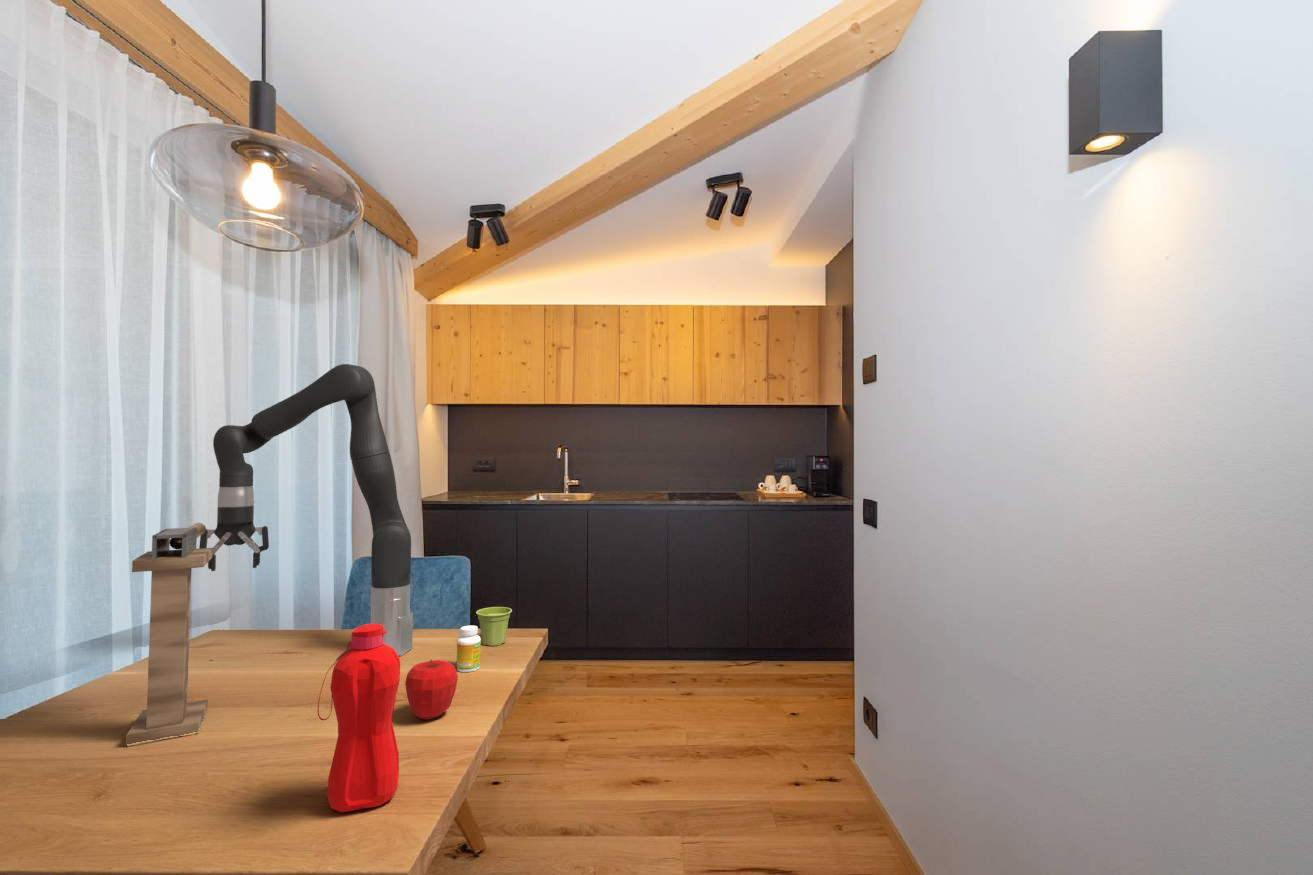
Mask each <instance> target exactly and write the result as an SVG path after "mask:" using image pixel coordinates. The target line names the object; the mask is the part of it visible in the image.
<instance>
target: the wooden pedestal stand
mask: <svg viewBox="0 0 1313 875" xmlns="http://www.w3.org/2000/svg"><path fill="white" fill-rule="evenodd" d="M212 548H213V547H207V548H200V549H199V548H196V549H195V550H194V551H193V552H192V553H190V554H189V555H188V556H187V557H184V558H182V549H169V551H167V552H166V553H164V554H163V555H162V556H160V557H159V558H157V559H152V550H150V551H146V552H145V553H143V554H142V555H140V556H138V557H136V558H135V559H133V560H132V561H131V563H132V564H131V573H142V572H151V580H150V583H151V584H150V606H149V607H150V609H149V610H150V611H149V635H148V636H149V638H148V639H149V640H148V666H147V667H148V668H147V691H146V692H147V693H146V694H147V696H146V697H147V699H146V709H142V710H141V712H140V714H139V715H138V716H137V717H136V719H135V721H134V723H133V724H132V726H131V727H130V729H129V730H128V731H127V733H126V734H125V746H126V745H127V744H132V743H136V742H142V741H147V740H156V739H160V738H164V737H170V736H180V735H184V734H189V733H193V732H198V731H199V732H200V730H199V728H200V726H201V727H202V725H201V723H202V721H203V722H204V720H205V718H204V716H205V717H206V715H205V714H207V712H206V710H207V708H208V702H209V699H204V700H197V701H191V702H188V686H189V685H188V684H189V683H188V682H189V661H190V660H189V656H190V655H189V654H190V621H191V620H190V619H191V596H192V595H191V594H192V569H195V568H196V569H197V568H198V569H200V568H205V566H206V565H208V562H209V561H210V560H211V559H212ZM207 711H208V710H207ZM203 719H204V720H203ZM202 724H203V723H202ZM200 729H201V728H200Z"/></svg>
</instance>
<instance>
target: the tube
mask: <svg viewBox="0 0 1313 875" xmlns="http://www.w3.org/2000/svg"><path fill="white" fill-rule="evenodd" d="M196 527H197V539H198V538H199V537H200V536H201V535H202V534H203V533H204V532H205V530H206V529H207V527H206V526H205V524H203V523H201V522H195V523H194V524H191V525H190V526H188V528H196ZM169 547H171V548H172V549H173V550H182V538H170V543H169Z"/></svg>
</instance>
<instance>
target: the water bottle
mask: <svg viewBox="0 0 1313 875" xmlns="http://www.w3.org/2000/svg"><path fill="white" fill-rule="evenodd" d="M384 633H387V631H384V629H383V625H381V624H371V623H365V624H362V625H359V626H358V627H355V628H353V629H352V631H351V641H347V643H346V645H347V646H346V650H344V652H342V653H341V654H340V655H338V657H336V660H335V661H334V662H333V664H332V665H331V666H330V667H329V668H328V670H327V672H326V673H325V677H324V680H323V683H322V684H321V688H320V692H319V696H318V703H317V715H318V718H319V719H320V720H321V721H327V720H328V719H329V718H330V717H331V714H332V710H333V707H334V712H335V718H336V721H337V735H338V736H337V739H336V743H335V744H336V745H335V749H334V752H333V757H332V761H331V764H330V765H331V766H330V769H329V774H328V778H327V780H328V781H327V792H326V793H327V794H326V795H327V796H326V797H327V799H328V804H329V807H330V809H332V810H334V811H337V812H338V813H342V814H343V813H346V812H347V813H348V812H352V811H358V810H362V809H370V808H374V807H375V808H376V807H381V806H382V805H384V804H385V803H387V802H389V801H390V800H392V798H393V797H394V796H395V793H397V790H398V788H399V778H400V777H399V776H400V758H399V757H400V756H399V755H400V754H399V748H398V744H397V740H396V735H395V729H394V725H393V715H394V710H395V704H396V700H397V699H396V698H397V694H398V689H399V685H400V681H401V660H400V656H398V654H397V653H396V651H395V649H394V648H392V647H390V646H388V645H386V644H383V634H384ZM333 666H334V667H333ZM331 668H333V670H332V673H331V680H330V692H331V695H330V696H331V699H332V700H331V703H330V705H331V708H330V713H329V715H328V717H326V718H322V717H321V716H320V710H319V709H320V708H319V706H320V699H321V695H322V690H323V687H324V683H325V680H326V677H327V675H328V673H329V671H330V670H331Z"/></svg>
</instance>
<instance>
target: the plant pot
mask: <svg viewBox="0 0 1313 875" xmlns="http://www.w3.org/2000/svg"><path fill="white" fill-rule="evenodd" d="M512 612H513V610H512V608H510V607H506V606H505V607H504V606H491V607H485V608H480V609H477V611H476V612H475V613H476V615H477V618H478V619H477V620H478V622H479V629H480V635H481V636H480V638H481V644H482V645H483V646H490V647H494V646H500V645H502V644H505V643H506V640H507V634H508V626H509V619H510V617H511V613H512Z"/></svg>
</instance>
